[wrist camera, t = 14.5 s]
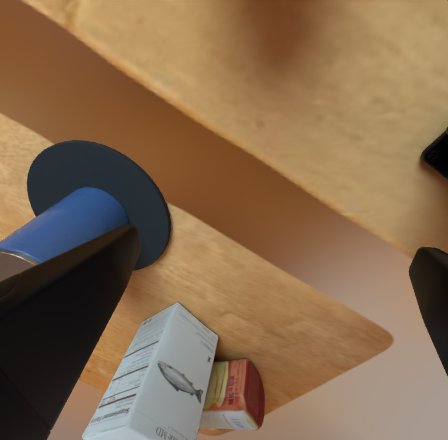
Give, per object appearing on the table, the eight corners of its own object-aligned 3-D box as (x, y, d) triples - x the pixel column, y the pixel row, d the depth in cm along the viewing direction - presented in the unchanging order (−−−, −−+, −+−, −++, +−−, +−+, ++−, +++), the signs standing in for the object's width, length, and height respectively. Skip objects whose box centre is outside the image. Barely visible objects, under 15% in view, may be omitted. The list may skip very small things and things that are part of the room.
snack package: (142, 388, 44) (122, 438, 38) (119, 364, 41) (93, 414, 35) (268, 379, 36) (266, 440, 31) (250, 349, 33) (244, 410, 28)
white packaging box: (221, 335, 33) (194, 469, 22) (180, 352, 36) (141, 475, 26) (178, 299, 31) (126, 428, 20) (139, 320, 34) (77, 441, 23)
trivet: (197, 200, 24) (195, 204, 23) (138, 287, 31) (136, 291, 30) (46, 104, 21) (41, 106, 21) (22, 222, 28) (17, 225, 28)
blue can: (138, 210, 24) (73, 283, 17) (116, 251, 28) (54, 328, 20) (77, 174, 23) (-22, 233, 16) (62, 220, 27) (-26, 288, 19)
